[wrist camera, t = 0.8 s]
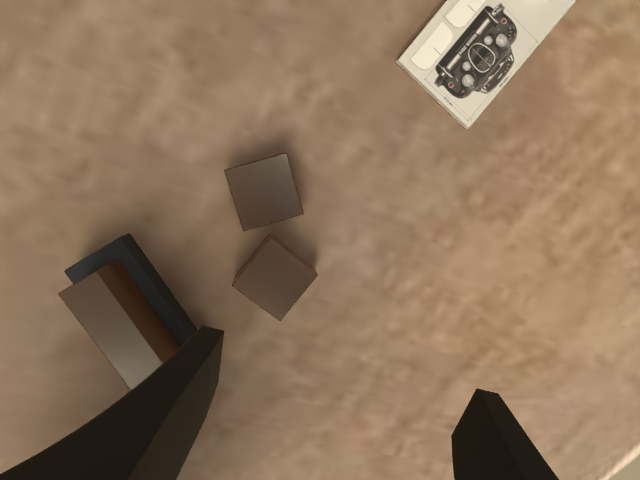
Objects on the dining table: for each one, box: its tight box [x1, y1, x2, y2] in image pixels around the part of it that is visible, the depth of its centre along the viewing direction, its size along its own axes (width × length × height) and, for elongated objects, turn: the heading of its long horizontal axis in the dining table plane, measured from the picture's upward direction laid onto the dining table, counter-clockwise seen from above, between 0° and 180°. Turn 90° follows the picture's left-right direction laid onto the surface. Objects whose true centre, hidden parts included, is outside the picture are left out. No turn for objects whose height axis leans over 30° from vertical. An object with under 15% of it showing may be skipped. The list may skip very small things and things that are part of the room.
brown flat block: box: [224, 153, 304, 231], centre depth 28 cm, size 4×4×2 cm
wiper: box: [58, 234, 197, 390], centre depth 27 cm, size 4×10×6 cm, turn 31°
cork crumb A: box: [232, 234, 318, 321], centre depth 29 cm, size 4×4×2 cm
